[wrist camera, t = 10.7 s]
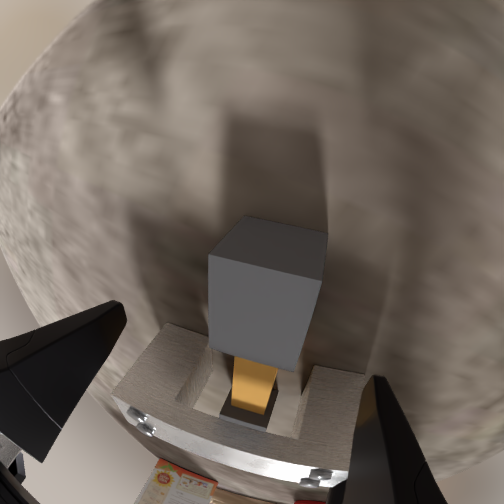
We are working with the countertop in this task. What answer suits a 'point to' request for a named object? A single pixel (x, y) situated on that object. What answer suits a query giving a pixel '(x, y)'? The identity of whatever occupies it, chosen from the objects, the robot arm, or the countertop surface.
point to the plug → (262, 308)
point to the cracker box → (175, 486)
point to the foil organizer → (233, 498)
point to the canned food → (308, 502)
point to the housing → (234, 435)
